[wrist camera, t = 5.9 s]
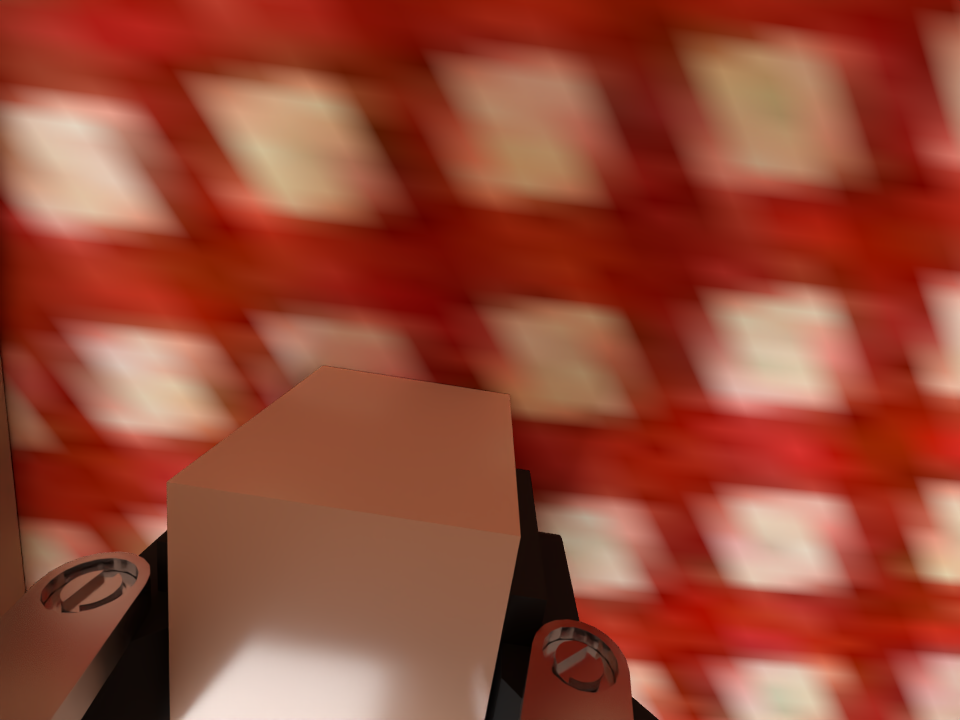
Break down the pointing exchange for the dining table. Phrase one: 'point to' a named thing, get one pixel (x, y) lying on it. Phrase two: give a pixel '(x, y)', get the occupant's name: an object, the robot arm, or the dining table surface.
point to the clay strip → (345, 555)
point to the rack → (8, 521)
